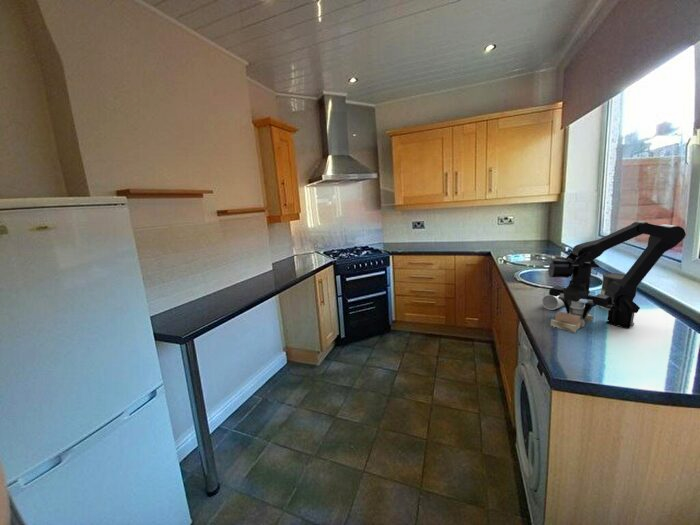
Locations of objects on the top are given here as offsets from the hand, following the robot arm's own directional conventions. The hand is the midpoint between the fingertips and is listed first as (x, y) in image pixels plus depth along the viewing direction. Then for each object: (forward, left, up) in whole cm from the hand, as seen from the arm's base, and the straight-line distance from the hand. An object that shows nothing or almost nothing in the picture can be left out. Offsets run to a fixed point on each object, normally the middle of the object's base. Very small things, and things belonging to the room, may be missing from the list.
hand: (576, 316), depth 118 cm
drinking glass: (+11, -21, +1) cm, 24 cm away
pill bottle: (0, 0, -2) cm, 2 cm away
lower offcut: (0, +7, -2) cm, 8 cm away
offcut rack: (0, +4, -2) cm, 4 cm away
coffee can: (-4, -27, -2) cm, 28 cm away
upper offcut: (0, +8, 0) cm, 8 cm away
